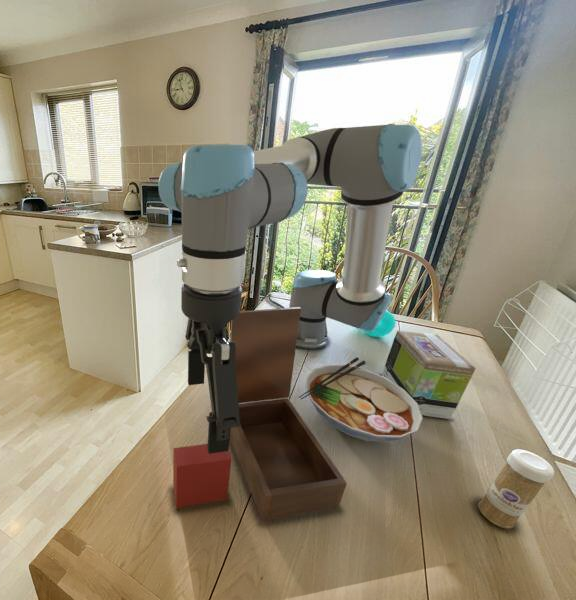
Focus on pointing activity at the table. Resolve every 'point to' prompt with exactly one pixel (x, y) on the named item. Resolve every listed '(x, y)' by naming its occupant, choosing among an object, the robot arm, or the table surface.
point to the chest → (284, 461)
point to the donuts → (383, 326)
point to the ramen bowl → (362, 402)
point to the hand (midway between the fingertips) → (205, 412)
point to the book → (199, 475)
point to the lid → (265, 352)
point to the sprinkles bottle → (515, 488)
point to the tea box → (428, 372)
